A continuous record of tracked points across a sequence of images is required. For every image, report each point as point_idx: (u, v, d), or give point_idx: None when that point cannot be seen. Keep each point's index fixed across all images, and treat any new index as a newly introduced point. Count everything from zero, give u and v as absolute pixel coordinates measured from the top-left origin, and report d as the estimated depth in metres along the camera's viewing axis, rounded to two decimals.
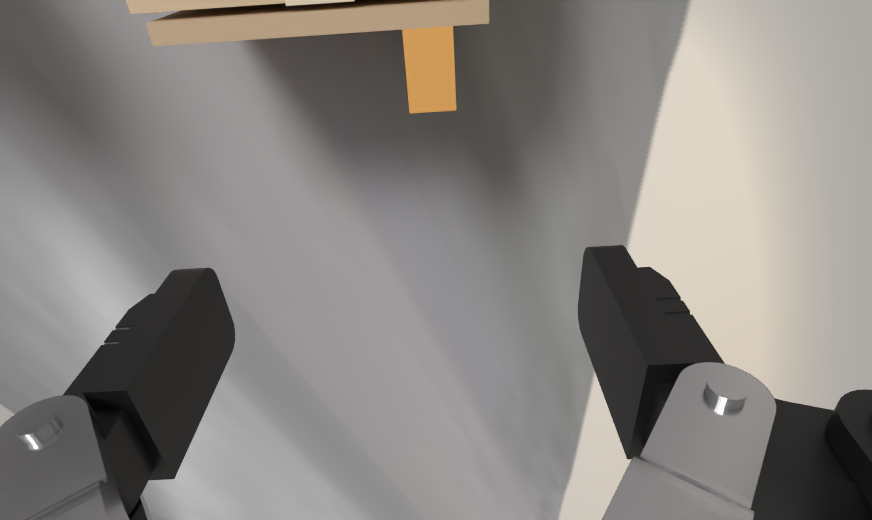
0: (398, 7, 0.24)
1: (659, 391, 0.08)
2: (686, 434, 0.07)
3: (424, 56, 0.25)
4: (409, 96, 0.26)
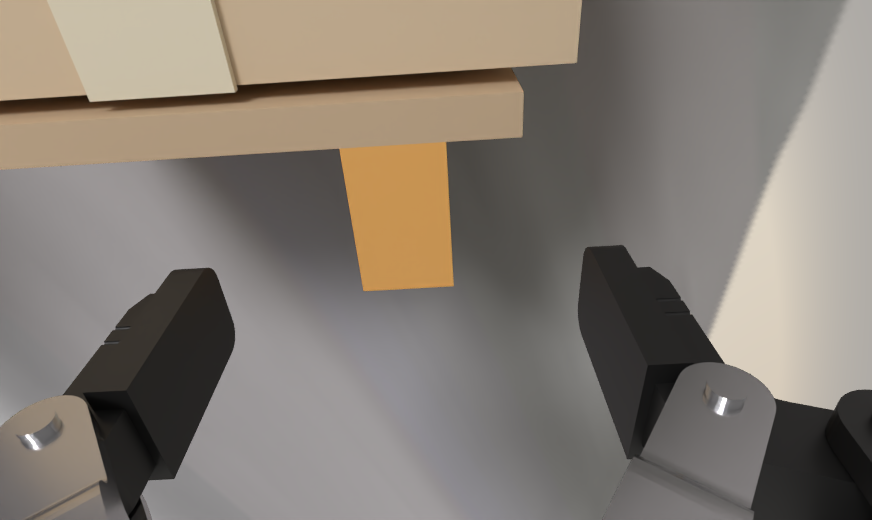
0: (328, 106, 0.11)
1: (659, 391, 0.08)
2: (686, 434, 0.07)
3: (387, 197, 0.12)
4: (361, 264, 0.14)
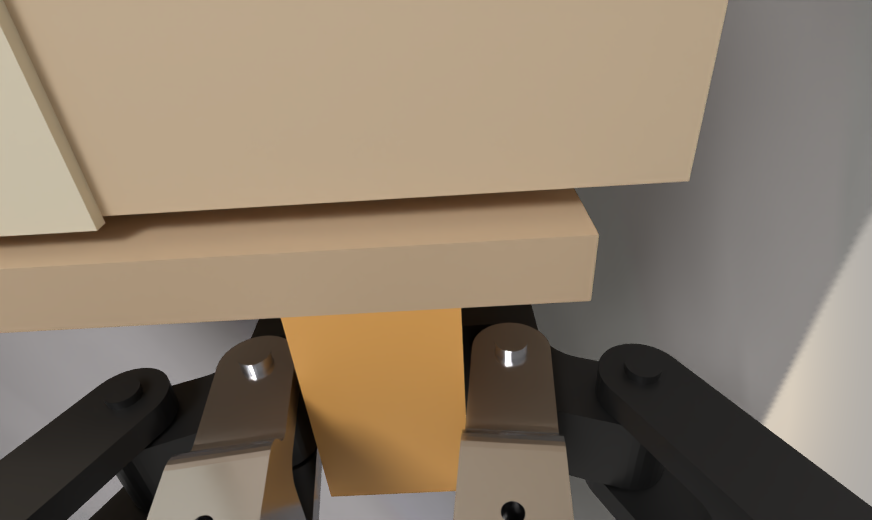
0: (257, 257, 0.06)
1: (471, 349, 0.09)
2: (494, 394, 0.07)
3: (363, 382, 0.08)
4: (326, 465, 0.09)
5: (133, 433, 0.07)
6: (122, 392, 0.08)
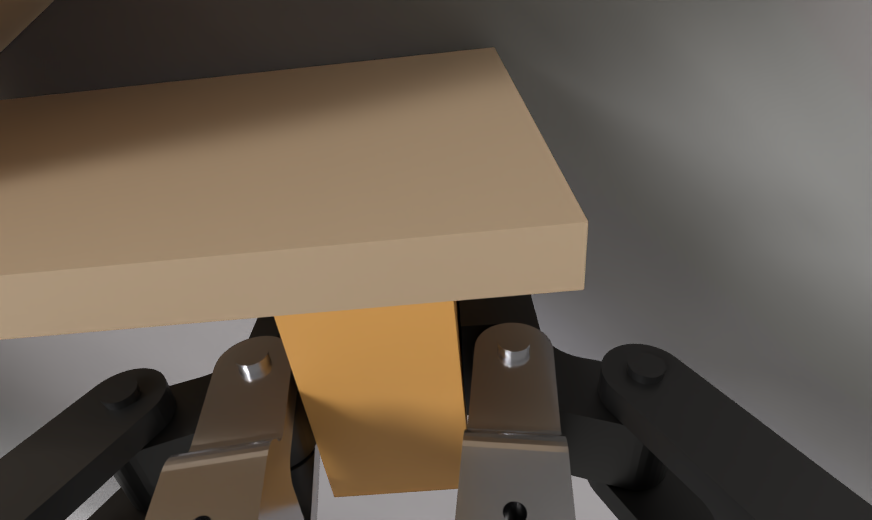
0: (247, 256, 0.07)
1: (473, 349, 0.09)
2: (496, 394, 0.07)
3: (360, 379, 0.08)
4: (328, 465, 0.09)
5: (130, 433, 0.07)
6: (118, 392, 0.08)
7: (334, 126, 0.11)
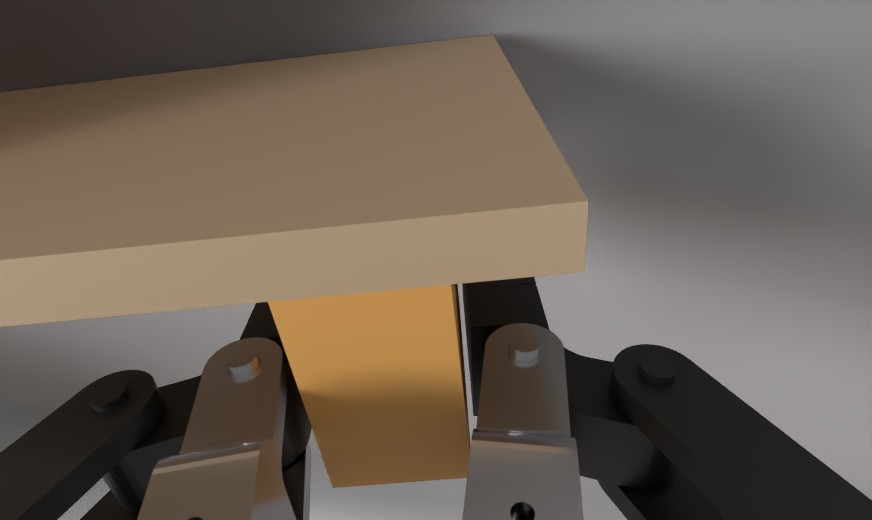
0: (240, 239, 0.06)
1: (483, 350, 0.09)
2: (506, 394, 0.07)
3: (357, 367, 0.07)
4: (325, 455, 0.09)
5: (118, 435, 0.07)
6: (108, 395, 0.08)
7: (329, 112, 0.10)
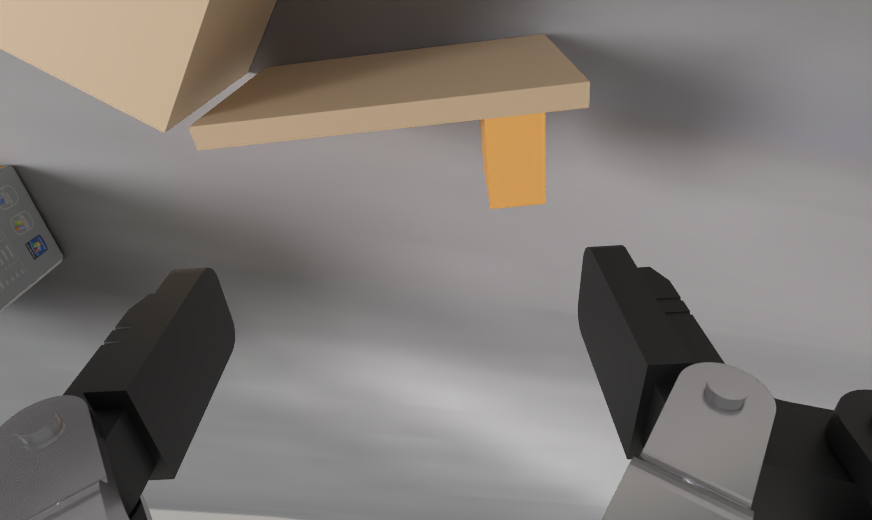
0: (481, 95, 0.20)
1: (659, 391, 0.08)
2: (686, 434, 0.07)
3: (509, 147, 0.22)
4: (491, 190, 0.23)
5: None
6: None
7: (481, 65, 0.24)
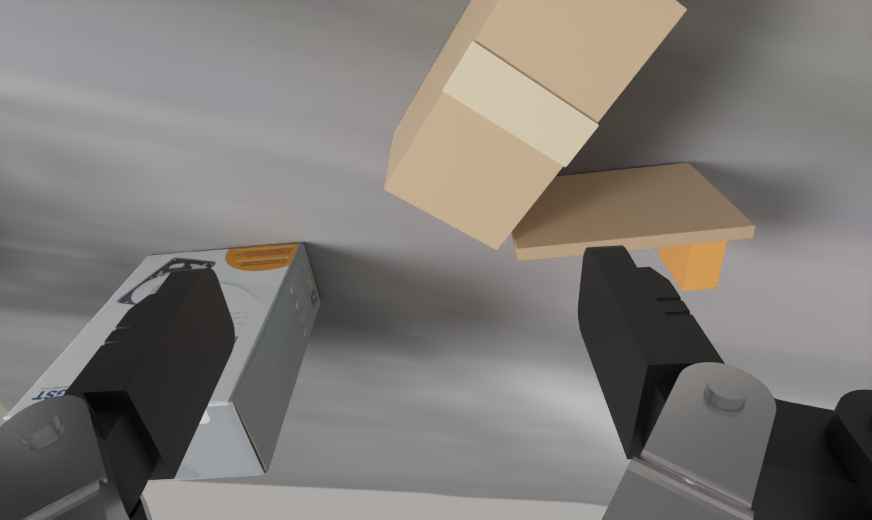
0: (692, 232, 0.36)
1: (659, 391, 0.08)
2: (686, 434, 0.07)
3: (702, 258, 0.37)
4: (685, 281, 0.38)
5: None
6: None
7: (670, 199, 0.40)
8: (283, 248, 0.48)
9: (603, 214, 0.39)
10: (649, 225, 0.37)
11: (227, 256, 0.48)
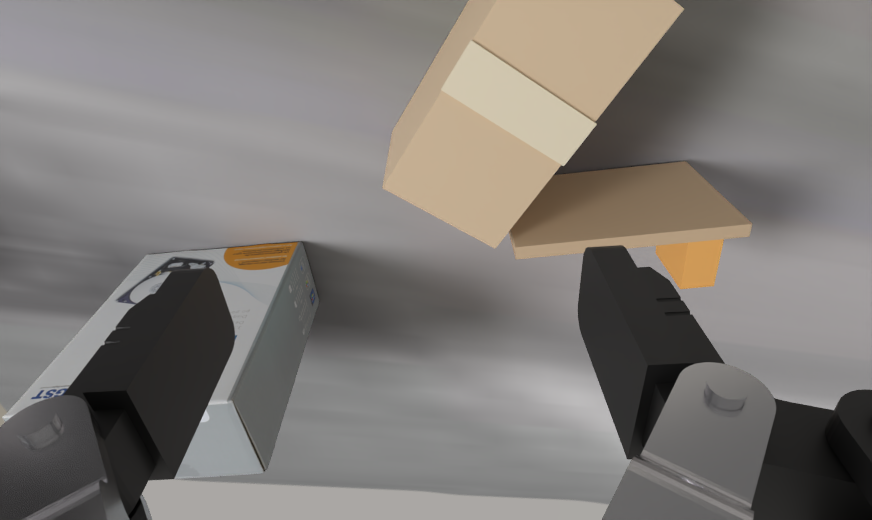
0: (689, 230, 0.36)
1: (659, 391, 0.08)
2: (686, 434, 0.07)
3: (699, 256, 0.37)
4: (682, 279, 0.38)
5: None
6: None
7: (667, 198, 0.40)
8: (282, 247, 0.48)
9: (601, 213, 0.39)
10: (646, 223, 0.37)
11: (226, 255, 0.48)
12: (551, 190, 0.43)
